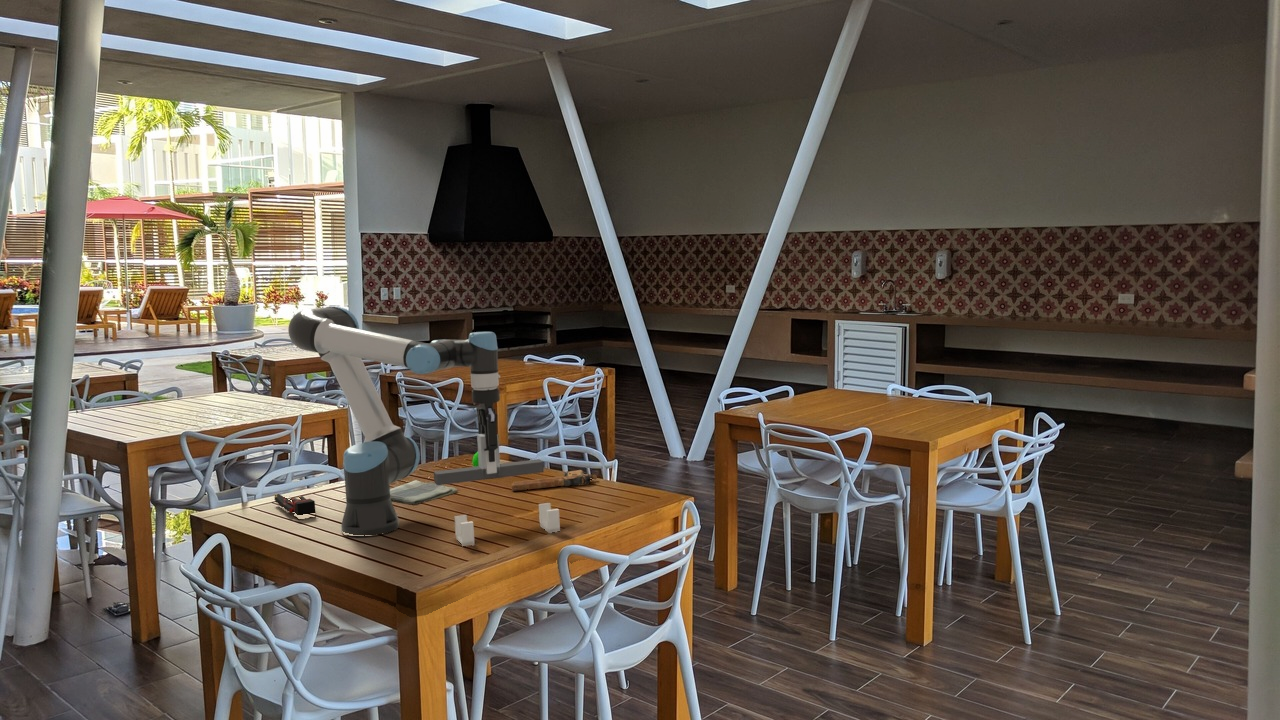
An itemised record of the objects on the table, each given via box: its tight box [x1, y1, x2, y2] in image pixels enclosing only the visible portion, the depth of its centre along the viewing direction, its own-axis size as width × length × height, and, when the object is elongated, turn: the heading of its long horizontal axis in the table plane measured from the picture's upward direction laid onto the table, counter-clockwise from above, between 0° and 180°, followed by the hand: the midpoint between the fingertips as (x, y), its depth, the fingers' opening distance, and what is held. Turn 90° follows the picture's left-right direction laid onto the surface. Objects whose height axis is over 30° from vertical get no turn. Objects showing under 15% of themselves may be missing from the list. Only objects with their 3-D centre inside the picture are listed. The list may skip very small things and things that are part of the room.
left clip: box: [453, 514, 475, 547], centre depth 241 cm, size 3×8×6 cm, turn 23°
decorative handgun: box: [511, 469, 598, 492], centre depth 302 cm, size 3×28×15 cm
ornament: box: [472, 451, 479, 467], centre depth 321 cm, size 8×8×10 cm
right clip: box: [538, 502, 561, 534], centre depth 250 cm, size 3×8×6 cm, turn 23°
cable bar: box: [433, 433, 545, 486], centre depth 259 cm, size 30×4×12 cm, turn 113°
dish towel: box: [390, 479, 459, 506], centre depth 294 cm, size 19×18×3 cm
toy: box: [274, 493, 317, 515], centre depth 283 cm, size 8×5×30 cm
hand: (489, 471), depth 259 cm, fingers closed on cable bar, 4 cm apart
